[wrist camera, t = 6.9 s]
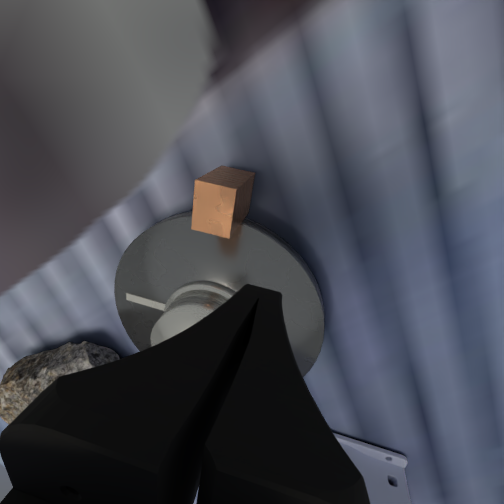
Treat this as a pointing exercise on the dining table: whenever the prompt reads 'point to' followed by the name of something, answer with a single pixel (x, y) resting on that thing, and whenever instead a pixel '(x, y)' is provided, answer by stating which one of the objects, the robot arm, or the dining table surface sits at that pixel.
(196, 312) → the cover
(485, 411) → the dining table surface
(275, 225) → the dining table surface
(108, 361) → the rock
